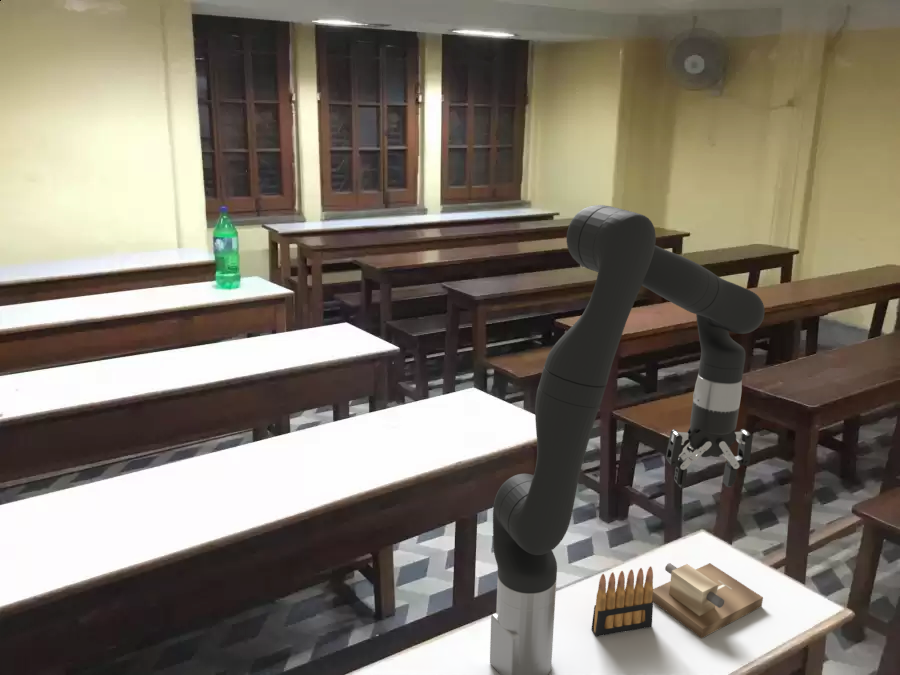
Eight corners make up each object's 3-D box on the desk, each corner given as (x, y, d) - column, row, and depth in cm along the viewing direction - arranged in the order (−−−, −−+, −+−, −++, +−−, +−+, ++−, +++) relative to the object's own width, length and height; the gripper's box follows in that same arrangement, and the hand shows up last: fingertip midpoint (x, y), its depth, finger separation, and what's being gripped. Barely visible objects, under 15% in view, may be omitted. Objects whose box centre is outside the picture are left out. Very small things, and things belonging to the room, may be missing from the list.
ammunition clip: (595, 636, 127) (600, 578, 123) (591, 629, 128) (595, 571, 124) (652, 626, 129) (658, 568, 125) (646, 619, 131) (652, 562, 127)
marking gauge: (710, 624, 127) (714, 600, 125) (658, 586, 136) (661, 563, 135) (726, 616, 129) (730, 592, 127) (673, 579, 138) (676, 556, 137)
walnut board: (701, 638, 126) (703, 628, 126) (650, 599, 136) (651, 590, 135) (761, 606, 134) (763, 597, 134) (708, 571, 144) (709, 563, 143)
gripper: (684, 410, 121) (672, 496, 126) (767, 409, 123) (752, 495, 128) (668, 393, 129) (657, 475, 134) (746, 392, 130) (733, 474, 135)
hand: (703, 485), depth 131 cm, fingers open, 8 cm apart
